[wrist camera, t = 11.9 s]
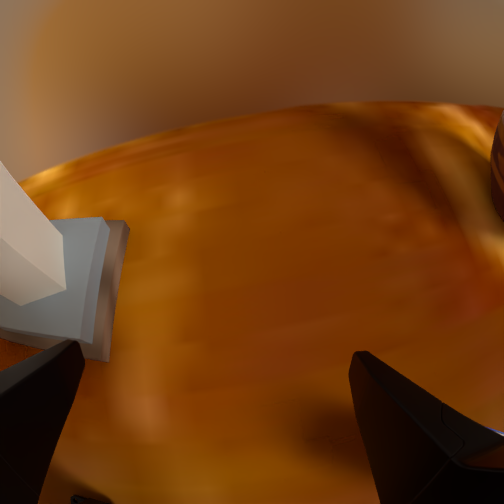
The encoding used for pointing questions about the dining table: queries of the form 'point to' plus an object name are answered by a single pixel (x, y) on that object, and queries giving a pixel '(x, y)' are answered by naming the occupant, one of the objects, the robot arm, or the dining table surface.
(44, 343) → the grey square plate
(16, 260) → the ivory pillar block
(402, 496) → the robot arm
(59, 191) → the dining table surface
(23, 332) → the slate top slab
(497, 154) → the jug
